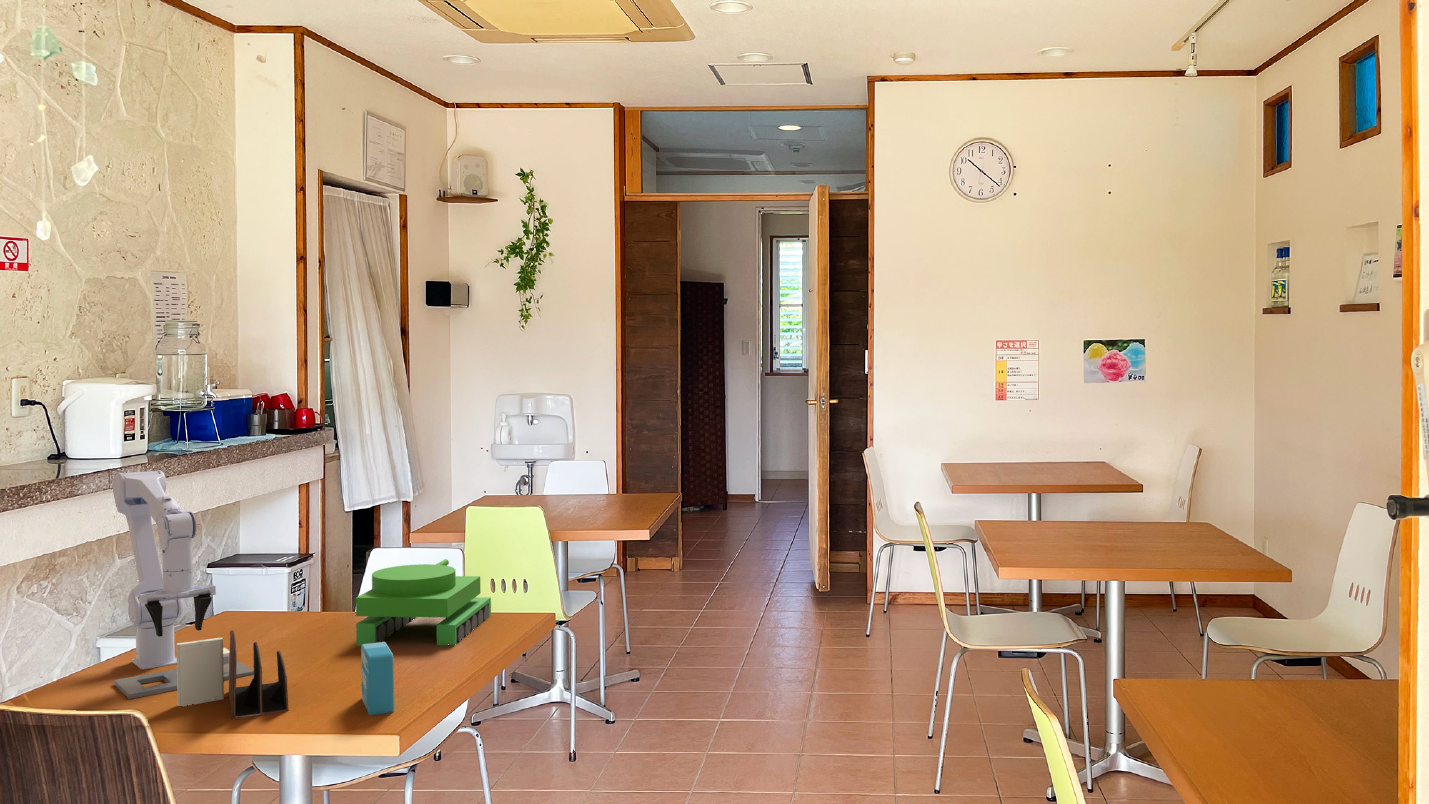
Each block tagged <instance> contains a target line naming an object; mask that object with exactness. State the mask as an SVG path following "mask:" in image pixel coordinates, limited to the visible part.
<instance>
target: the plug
mask: <svg viewBox="0 0 1429 804" xmlns="http://www.w3.org/2000/svg"><path fill="white" fill-rule="evenodd" d="M229 653H230V649H227V647H223V668H224V669H223V670H224V673H225V672H229Z"/></svg>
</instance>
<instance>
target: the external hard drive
mask: <svg viewBox="0 0 1429 804" xmlns="http://www.w3.org/2000/svg"><path fill="white" fill-rule="evenodd" d="M223 648H224V638H223V637H215V638H208V639H200V640H193V641H184V642H177V643H176V658H177V664H176V669H177V690H176V691H177V707H178V706H183V707H187V705H188V706H193V705H192V704H194V705H199V704H205V703H209V702H211V703H212V702H216V701H220V700H221V701H222V700H224V699H225V689H224V688H225V684H224V683H225V682H224V681H225V680H224V670H223V669H224V668H223Z"/></svg>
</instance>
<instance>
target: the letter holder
mask: <svg viewBox="0 0 1429 804" xmlns="http://www.w3.org/2000/svg"><path fill="white" fill-rule="evenodd" d="M252 647H253V671H254V675H253V678H252V679H251V681H250V683H249V684H248V685H245V686H237V678H236V669H237V668H236V667H237V666H236V665H237V658H238V657H237V655H238V654H237V652H238V650H237V640H236V634H235V631H234V629H231V630H230V631H229V651H230V653H229V680H228V695H229V696H228V697H229V703H230V705H229V706H230V713H231V720H240V719H246V718H253V717H258V716H259V717H260V716H264V715H273V714H278V713H284V712H285V713H286V712H289V711H290V710H289V709H290V707H289V694H288V676H287V675H288V674H287V670H286V667H285V662H284V657H283V656H282V653H281V651H280V650H277V651H276V660H277V663H276V664H277V681H276V682H270V683H263V664H262V659H261V652H260V648H259V643H258V642H257V641H254V642H253V646H252Z"/></svg>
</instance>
